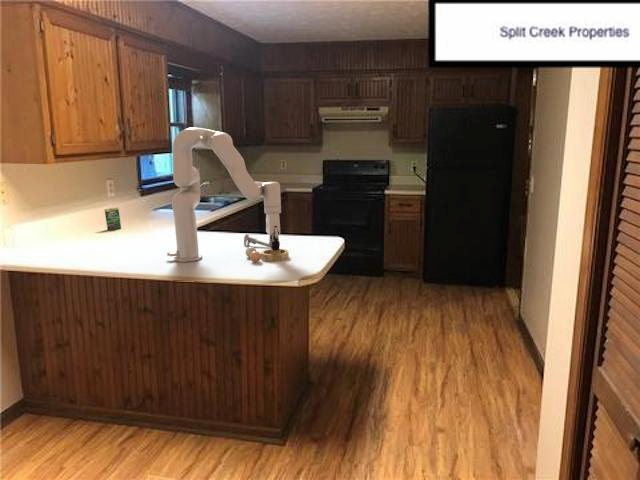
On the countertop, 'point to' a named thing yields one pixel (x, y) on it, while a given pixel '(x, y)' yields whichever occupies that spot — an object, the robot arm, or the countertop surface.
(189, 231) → the robot arm
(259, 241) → the caliper
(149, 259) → the countertop surface
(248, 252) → the cream ball
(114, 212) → the coffee box
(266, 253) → the ring
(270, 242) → the steel ball
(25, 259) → the countertop surface
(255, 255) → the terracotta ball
